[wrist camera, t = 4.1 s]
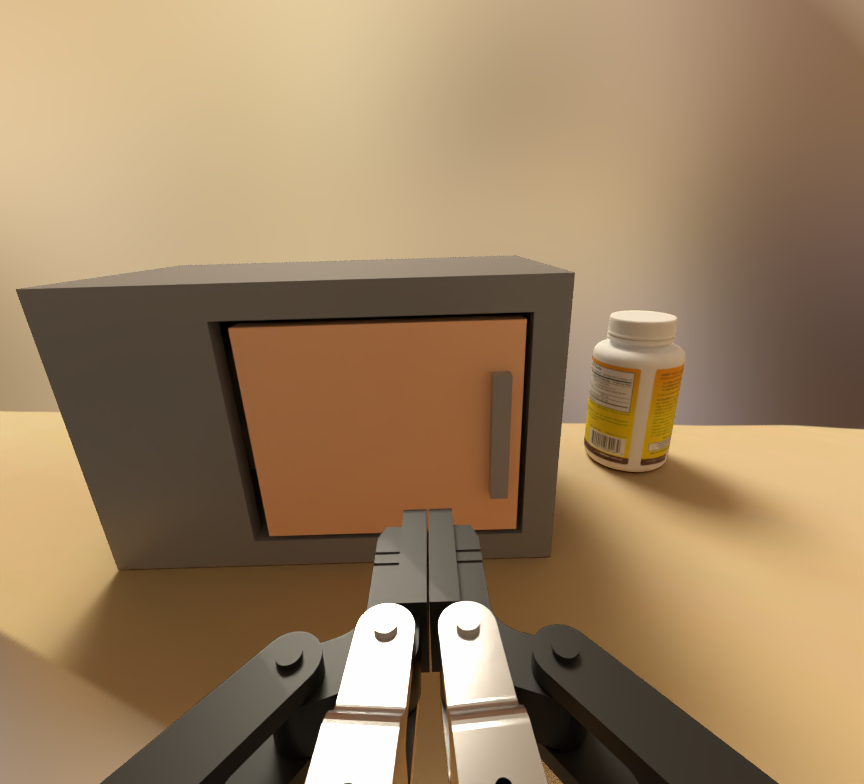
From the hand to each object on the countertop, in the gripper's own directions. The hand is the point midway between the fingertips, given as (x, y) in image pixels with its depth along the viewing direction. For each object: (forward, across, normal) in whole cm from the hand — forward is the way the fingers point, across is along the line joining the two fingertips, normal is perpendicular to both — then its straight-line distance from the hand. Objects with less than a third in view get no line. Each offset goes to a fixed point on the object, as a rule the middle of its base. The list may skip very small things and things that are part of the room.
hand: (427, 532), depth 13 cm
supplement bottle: (+16, -14, +7) cm, 23 cm away
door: (+7, +2, +5) cm, 9 cm away
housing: (+12, +5, +7) cm, 15 cm away
